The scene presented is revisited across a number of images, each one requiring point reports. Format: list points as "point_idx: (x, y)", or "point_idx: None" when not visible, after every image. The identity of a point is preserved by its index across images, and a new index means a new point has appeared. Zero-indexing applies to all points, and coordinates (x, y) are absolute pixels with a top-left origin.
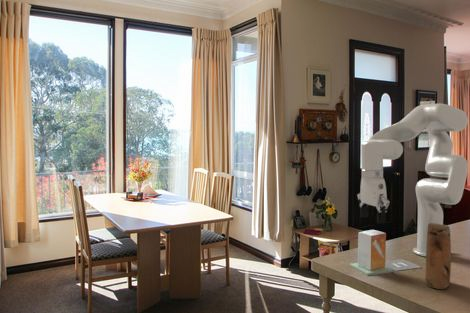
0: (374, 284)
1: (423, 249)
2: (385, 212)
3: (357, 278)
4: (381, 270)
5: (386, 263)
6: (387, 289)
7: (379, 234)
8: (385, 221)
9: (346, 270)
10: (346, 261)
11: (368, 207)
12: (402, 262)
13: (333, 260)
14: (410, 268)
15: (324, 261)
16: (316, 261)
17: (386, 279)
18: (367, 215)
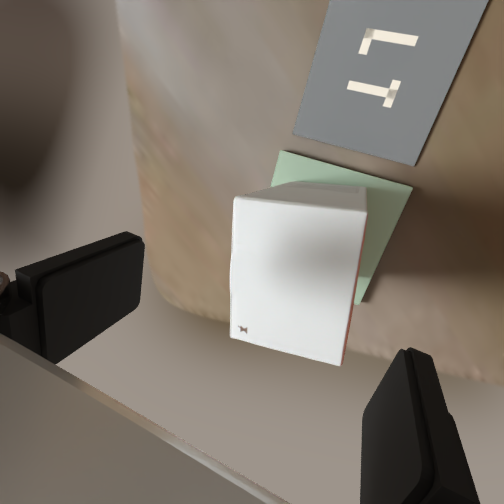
0: None
1: None
2: (469, 485)
3: (352, 348)
4: (378, 236)
5: (327, 113)
6: (499, 375)
7: (355, 289)
8: (432, 361)
9: None
10: (215, 228)
11: (41, 274)
12: (371, 16)
13: (187, 254)
14: (456, 66)
15: (181, 284)
16: (170, 302)
17: (438, 287)
18: (132, 257)
